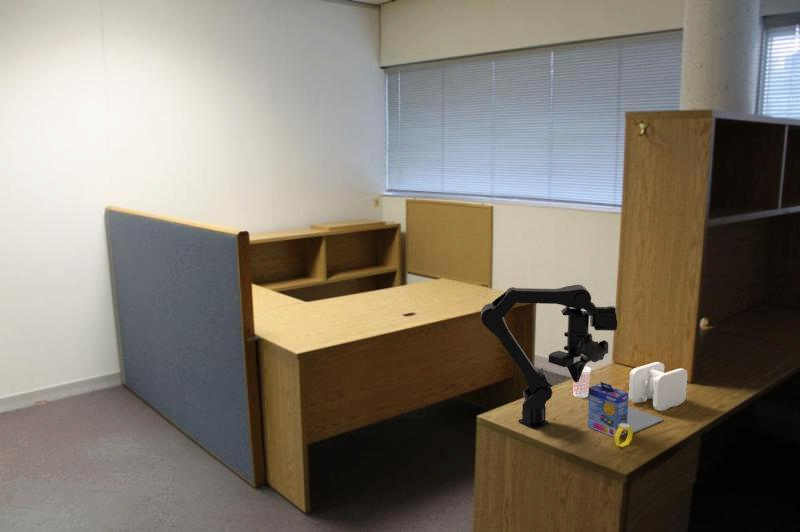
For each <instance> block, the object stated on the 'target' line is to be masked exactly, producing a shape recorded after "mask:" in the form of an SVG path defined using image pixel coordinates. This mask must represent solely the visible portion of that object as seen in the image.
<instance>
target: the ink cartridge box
mask: <svg viewBox="0 0 800 532" xmlns="http://www.w3.org/2000/svg"><path fill="white" fill-rule="evenodd" d="M628 407H629V392H627V391H625V390H621V389H617V388H613V385H611V384H609V383H605V382H602V381H600V382H599V383H596V384H595V385H592V386H589V389H588V408H587V409H588V413H587V427H588V428H590V429H592V430H595V431H598V432H600V433H603V434H606V435H609V436H610V437H613V438H615V434H616V431H617V429H618V428H619V424H621V423H625V424H627V415H628ZM625 434H628V432H627V430H625V429H624V430H623V431H622V432H621V435H620V437H621V436H623V435H625Z"/></svg>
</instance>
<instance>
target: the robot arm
mask: <svg viewBox="0 0 800 532" xmlns="http://www.w3.org/2000/svg"><path fill="white" fill-rule="evenodd" d="M516 304H539V305H540V304H545V305H550V304H551V305H554V304H555V305H556V304H557V305H561V306H563V307H564V308H563V309H561V311H560V312H561V313H562V316H567V331H565V332H564V337H566V338H567V340H566V341H567V342H566V344H567V345H564V346H563V351H561V350H557V351H553V352H551V353H549V355H548V361H547V362H548V363H550V364H554V365H556V366H559V367H561V368H567V370H568V371H569V372H568V373H569V374H570V376H571V378H572V382H573V381H574V382H576V383H577V382H579V379H580V377H581V374H582V371H583V369H584V367H585V366H587V364H588V363H590V362H593V363H597V362H599V361H603V360H604V358H605V356H606V354H609V342H608V341H607V340H600V341H598V340H597V341H594V340H593V334H592V333H589V327H591V328H593V329H594V331H611V332H612V331H613V332H614V331H615V332H616V330H617V328H618V320H617V312H616V311H617V309H616V307H615V306H614V305H613V306H612V305H611V306H597V305H596V304H595V303H594V302H592V295H591V294H590V292H589V291H588V289H587V288H586V287H585V286H584V285H582V284H572V285H567V286H564V287H560V288H559V287H558V288H532V287H531V288H525V287H521V288H520V287H518V288H517V287H512V286H511V287H509V288H507V290H506V291H505V292H503V293H502V294H501V295H499V296H497V297H496V299H494V300H493V301H492V302H491V303H487V304H484V306H482V308H481V310H480V311H481V312H480V319H481V323H482V324H483V325H484V327H485V328H486V329H487V330H488V331H489V332H490V333H491V334H493V335H494V336H495V337H496V338H497V339H498V340H499V342H500V343H501V345H502V346H503V347H504V349H505V350H506V352H507V353H508V355H509V357H510V358H511V359H512V360H513V362H514V363H515V364H516V366H517V368H518V369H519V370H520V372H521V374H522V375H523V376H524V380H525V381H526V384H527V387H525V389H523V390H522V394H523V399H524V401H523V403H522V406H521V407H522V413H521V415H522V416H521V419H518V420H517V421H518V423H520V424H522V425H525V426H527V427H529V428H531V429H537V428H540V427H543V426H546V425H549V424H550V421H549V420H546V416H547V415H546V411H547V409H546V403H547V402H548V401H549V400H550V399H551V398H552V395H553V388H552V387H553V384H552V381H551V378H550V377H549V376H548V375H547V374H546V372H545V370H544V368H543V367H541V369H538V368H536V367H535V366H534V365H533V363H532V362H531V360H530V358H529V357H528V356H527V354H526V352H525V350H524V349H523V348H522V347H521V346H520V343H519V342H518V341H517V339H516V338H515V337H514V335H513V333H512V332H511V330H510V329H509V328H508V325H507V322H506V320H505V316H506V315H507V314H508V313H509V311H510V310H511V309H512V308H513V307H514V306H515V305H516ZM565 351H567V352H565Z"/></svg>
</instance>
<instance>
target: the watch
mask: <svg viewBox="0 0 800 532" xmlns="http://www.w3.org/2000/svg"><path fill="white" fill-rule="evenodd" d="M624 429H625V430H627V429H628V432H627V436H626V439H625V440H624V442H622V443H620V437H621V436H622V435H621V432H622V431H623V430H624ZM633 434H634V433H633V431H632V429H631V427H630V425H628V424H625V423H621V424H619V428H618V429H617V431H616V434H615V437H614V443H615V445H616V446H618V447H620V448H624V447H626V446H629V445H630V444H631V442H632V439H633ZM620 435H621V436H620Z"/></svg>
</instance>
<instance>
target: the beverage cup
mask: <svg viewBox="0 0 800 532" xmlns="http://www.w3.org/2000/svg"><path fill="white" fill-rule="evenodd" d="M591 373H592V368H591V367H589V366H587V365H585V367H584V369H583V371H582V374H581V377H580V379H579V382H577V383H576V382H574V381H573V380H572V388H573V390H572V391H573V392H572V393H573V396H574V397H575V398H581V399H582V398H583V399H585V398H587V397H589V388H590V379H591V378H590V377H591Z"/></svg>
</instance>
